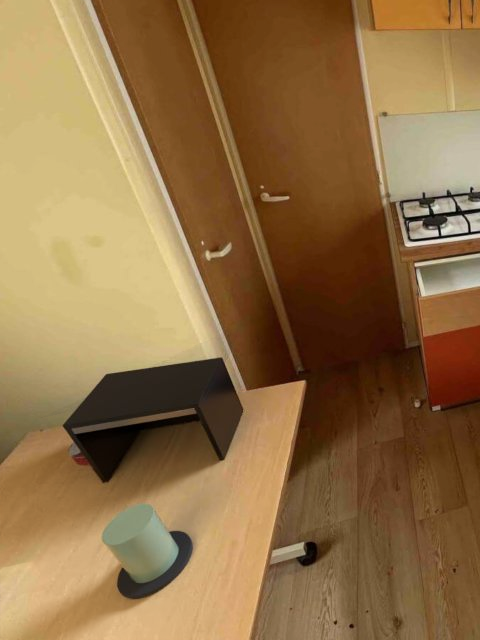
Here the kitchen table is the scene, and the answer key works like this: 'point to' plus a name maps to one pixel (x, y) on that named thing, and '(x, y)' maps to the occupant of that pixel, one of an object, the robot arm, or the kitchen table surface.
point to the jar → (140, 543)
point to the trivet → (146, 589)
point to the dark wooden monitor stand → (154, 409)
